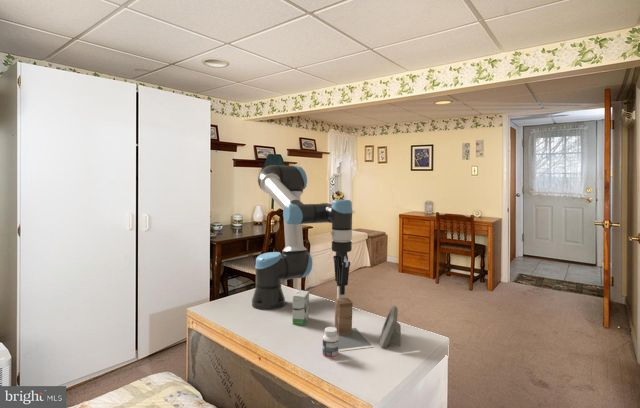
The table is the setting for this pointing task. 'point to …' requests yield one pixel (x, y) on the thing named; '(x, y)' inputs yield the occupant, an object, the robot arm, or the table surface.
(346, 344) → the mat
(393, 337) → the digital clock
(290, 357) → the table surface
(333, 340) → the pill bottle
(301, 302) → the ink box
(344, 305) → the block
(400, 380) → the table surface
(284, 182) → the robot arm
